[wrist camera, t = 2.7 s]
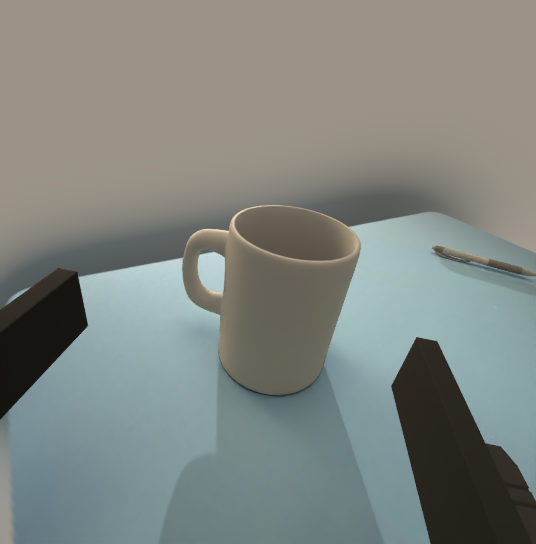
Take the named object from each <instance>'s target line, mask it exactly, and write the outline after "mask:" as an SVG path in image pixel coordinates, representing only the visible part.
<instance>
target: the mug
mask: <svg viewBox="0 0 536 544" xmlns="http://www.w3.org/2000/svg"><path fill="white" fill-rule="evenodd" d="M360 249H361V245H360V241H359V238H358V237H357V235H356V234H355V233H354V232H353V231H352V230H351V229H350V228H349V227H347V226H346V225H344V224H343V223H341V222H339V221H337V220H335V219H333V218H331V217H329V216H326V215H324V214H321V213H318V212H314V211H311V210H307V209H302V208H297V207H290V206H278V205H270V206H257V207H252V208H248V209H245V210H243V211H241V212H239V213H238V214H236V215H235V216H234V217H233V219H232V221H231V223H230V228H229V231H223V230H216V229H204V230H201V231H198V232H196V233H194V235H192V236H191V238H190V239H189V241H188V243H187V245H186V248H185V251H184V257H183V266H182V272H183V282H184V286H185V290H186V293H187V295H188V297H189V298H190V299H191V301H192V302H193V303H195V304H196V305H197V306H199V307H201V308H203V309H205V310H208V311H210V312H213V313H216V314H219V315H221V316H220V333H219V344H218V349H219V356H220V360H221V362H222V365H223V367H224V368H225V370H226V371H227V373H228V374H229V375H230V376H231V377H232V378H233V379H234V380H235V381H237V382H238V383H240V384H241V385H242V386H244V387H246V388H248V389H250V390H253V391H255V392H259V393H263V394H269V395H286V394H291V393H295V392H298V391H301V390H303V389H305V388H306V387H308V386H309V385H311V384H312V383H313V382H314V381H315V380H316V378H317V377H318V375H319V374H320V372H321V370H322V367H323V365H324V362H325V358H326V355H327V351H328V348H329V345H330V342H331V339H332V336H333V333H334V330H335V327H336V324H337V321H338V318H339V315H340V312H341V309H342V306H343V303H344V300H345V297H346V294H347V291H348V288H349V285H350V282H351V279H352V276H353V273H354V270H355V267H356V264H357V261H358V258H359V254H360ZM202 250H211V251H214V252H216V253H218V254H220V255H222V256H223V257H225V281H224V292H223V293H217V292H213V291H210V290H208V289H206V288H205V287H204V286H203V285H202V283H201V281H200V279H199V276H198V267H197V263H198V257H199V254H200V252H201V251H202Z"/></svg>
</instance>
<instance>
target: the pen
mask: <svg viewBox="0 0 536 544" xmlns="http://www.w3.org/2000/svg"><path fill="white" fill-rule="evenodd" d="M431 248H432V249H434V251H435V253H436V254H437V255H439V256H442V257H444V258H448V259H451V260H455V261H460V262H470V261H472V262H476V263H480V264H483V265H486V266H490V267H494V268H497V269H501V270H505V271H508V272H512V273H516V274H521V275H526V276H536V274H535V273H534V272H532V271H530V270H527V269H524V268H522V267H518V266H514V265H510V264H507V263H503V262H499V261H495V260H491V259H488V258H483V257H479V256H475V255H471V254H468V253H464V252H460V251H456V250H453V249H449V248H445V247H441V246H435V247H434V246H432V247H431ZM449 255H450V256H449ZM451 256H454V257H458V258H461V259H458V258H454V257H451ZM462 259H465V260H462Z"/></svg>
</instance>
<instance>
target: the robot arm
mask: <svg viewBox="0 0 536 544" xmlns="http://www.w3.org/2000/svg"><path fill="white" fill-rule="evenodd" d="M87 326H88V323H87V318H86V313H85V308H84V303H83V298H82V293H81V288H80V283H79V278H78V273H77V272H75V271H70V270H65V269H60V268H58V269H56V270H55V271H54V272H52V273H51V274H50V275H48V276H47V277H45V278H44V279H42V280H41V281H40V282H38V283H37V284H35V285H34V286H33V287H31V288H30V289H29V290H27V291H26V292H24V293H23V294H22V295H20V296H19V297H17V298H16V299H15V300H13V301H12V302H10V303H9V304H8V305H6V306H5V307H4V308H2V309H1V310H0V419H1V418H2V417H3V416H4V415H5V414H6V413H7V412H8V411H9V410H10V409H11V408H12V406H13V405H14V404H15V403H16V402H17V401H18V400H19V399H20V398H21V397H22V396H23V395H24V394H25V393H26V391H27V390H28V389H29V388H30V387H31V386H32V385H33V384H34V383H35V382H36V381H37V380H38V379H39V378H40V377H41V375H42V374H43V373H44V372H45V371H46V370H47V369H48V368H49V367H50V366H51V365H52V364H53V363H54V362H55V361H56V359H57V358H58V357H59V356H60V355H61V354H62V353H63V352H64V351H65V350H66V349H67V348H68V347H69V346H70V344H71V343H72V342H73V341H74V340H75V339H76V338H77V337H78V336H79V335H80V334H81V333H82V332H83V331H84V330H85V328H86V327H87ZM391 387H392V391H393V395H394V399H395V403H396V407H397V411H398V415H399V419H400V423H401V427H402V431H403V435H404V439H405V443H406V447H407V451H408V455H409V459H410V463H411V467H412V471H413V475H414V479H415V483H416V487H417V491H418V495H419V499H420V503H421V507H422V511H423V515H424V519H425V523H426V527H427V531H428V535H429V539H430V543H431V544H536V501H535V499H534V497H533V495H532V493H531V492H529V490H528V488H529V487H528V485H527V483H526V482H525V480H524V478H523V476H522V474H521V472H520V470H519V468H518V466H517V465H516V464H515V463H514V462H513V460H512V459H511V458H510V457H509V456H508V455H507V453H506V452H505V451H504V450H503V449H502V448H501V447H500V446H495V445H490V444H485V442H484V440H483V438H482V435H481V433H480V431H479V429H478V427H477V425H476V423H475V421H474V418H473V416H472V414H471V412H470V410H469V408H468V406H467V404H466V401H465V399H464V397H463V395H462V393H461V391H460V389H459V387H458V384H457V382H456V380H455V378H454V376H453V374H452V372H451V370H450V367H449V365H448V363H447V361H446V359H445V357H444V355H443V353H442V350H441V348H440V346H439V344H438V342H437V341H433V340H428V339H423V338H418V337H416V339H415V341H414V343H413V345H412V347H411V349H410V351H409V353H408V355H407V357H406V359H405V361H404V362H403V364H402V366H401V368H400V370H399V372H398V374H397V376H396V378H395V380H394V382H393V384H392V386H391Z"/></svg>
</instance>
